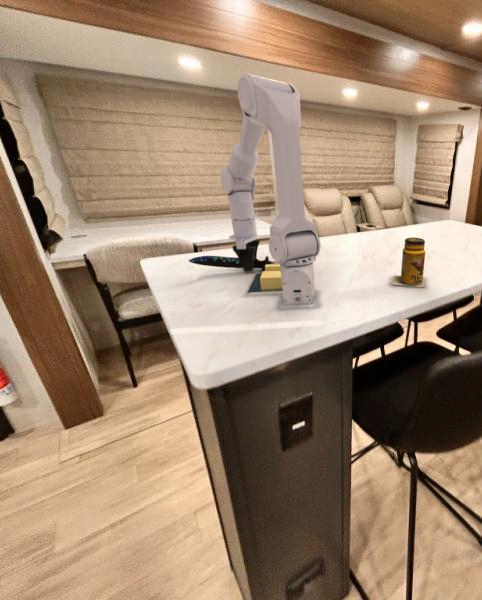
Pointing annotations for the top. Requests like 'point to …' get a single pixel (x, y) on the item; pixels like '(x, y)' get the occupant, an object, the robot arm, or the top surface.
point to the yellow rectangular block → (271, 280)
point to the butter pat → (272, 267)
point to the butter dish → (259, 286)
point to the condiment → (412, 264)
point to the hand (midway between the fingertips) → (250, 268)
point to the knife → (229, 262)
